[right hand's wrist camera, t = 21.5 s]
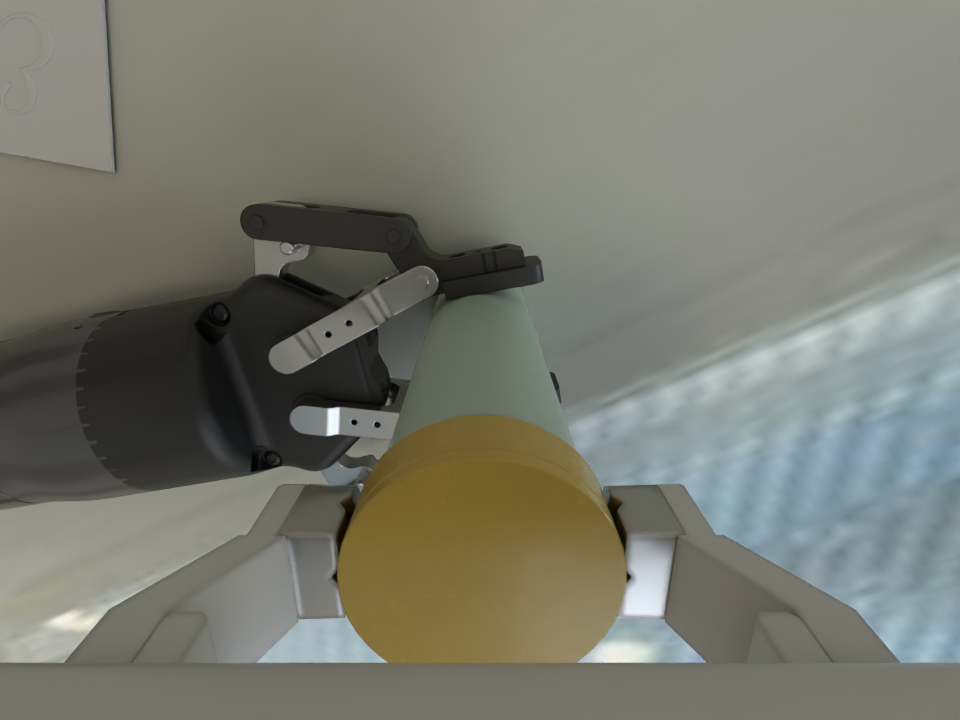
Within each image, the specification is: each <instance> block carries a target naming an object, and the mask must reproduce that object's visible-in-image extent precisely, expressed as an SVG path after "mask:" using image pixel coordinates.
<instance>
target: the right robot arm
mask: <svg viewBox="0 0 960 720" xmlns="http://www.w3.org/2000/svg"><path fill="white" fill-rule="evenodd" d="M603 494H604V497H605V500H606V502H607V505H608V508H609V510H610V513H611V516H612V518H613V521H614V524H615V526H616V529H617V532H618V534H619V537H620V540H621V542H622V545H623V548H624V553H625V558H626V565H627V581H626V588H625V595H624V598H623V601H622V605H621V608H620V610H619V613H618V615H617V616H618V618H642V619H665V622H666V623H667V624H668V625H669V626H670V627H671V628H672V629H673V630H674V631H675V632H676V633H677V634H678V635H679V636H680V637H681V638H682V639H684V640H685V641H686V642H687V643H688V644H689V645H690V646H691V647H692V648H693V649H694V650H695V651H696V652H697V653H698V654H699V655H700V656H701V657H702V658H703V659H704V660H705V661H706V662H707V663H256V662H257V661H258V660H259V659H260V658H261V657H262V656H263V655H264V654H265V653H267V652H268V651H269V650H270V649H271V648H272V647H273V646H274V645H275V644H276V643H277V642H278V641H279V640H280V639H281V638H282V637H283V636H284V635H285V634H286V633H287V632H288V631H289V630H290V629H291V628H292V627H293V626H294V625H295V624H296V623H297V622H298V619H321V618H345V616H346V612H345V610H344V608H343V605H342V602H341V598H340V594H339V590H338V581H337V565H338V557H339V552H340V548H341V544H342V541H343V539H344V536H345V533H346V531H347V528H348V525H349V523H350V520H351V517H352V514H353V512H354V509H355V506H356V504H357V501H358V498H359V496H360V489H359V487H358V485H320V484H308V485H306V484H283V485H280V486H279V487H278V488H277V489H276V491H275V492H274V494H273V495H272V497H271V498H270V500H269V502H268V503H267V505H266V506H265V508H264V509H263V511H262V512H261V514H260V516H259V517H258V519H257V520H256V522H255V523H254V525H253V526H252V528H251V530H250V531H249V533H248V534H247V535H239V536H237V537H235V538H234V539H232V540H230V541H228V542H226V543H225V544H223V545H221V546H219V547H218V548H216V549H214V550H212V551H211V552H209V553H207V554H205V555H204V556H202V557H200V558H198V559H197V560H195V561H193V562H191V563H190V564H188V565H186V566H184V567H183V568H181V569H179V570H177V571H176V572H174V573H172V574H170V575H169V576H167V577H165V578H163V579H162V580H160V581H158V582H156V583H154V584H153V585H151V586H149V587H147V588H146V589H144V590H142V591H140V592H139V593H137V594H135V595H133V596H132V597H130V598H128V599H126V600H125V601H123V602H121V603H119V604H118V605H116V606H114V607H112V608H111V609H109V610H108V611H107V613H106V614H105V615H104V616H103V617H102V618H101V620H100V621H99V622H98V623H97V624H96V626H95V627H94V628H93V629H92V630H91V631H90V633H89V634H88V635H87V636H86V637H85V639H84V640H83V641H82V642H81V643H80V644H79V646H78V647H77V648H76V649H75V650H74V652H73V653H72V654H71V655H70V656H69V657H68V659H67V660H66V661H65V662H64V663H0V720H960V663H900V662H899V661H898V659H897V658H896V657H895V656H894V655H893V653H892V652H891V651H890V650H889V649H888V648H887V646H886V645H885V644H884V643H883V642H882V640H881V639H880V638H879V637H878V636H877V635H876V633H875V632H874V631H873V630H872V629H871V628H870V626H869V625H868V624H867V623H866V622H865V620H864V619H863V618H862V617H861V616H860V615H859V613H858V612H857V611H856V610H855V609H853V608H851V607H849V606H848V605H846V604H844V603H842V602H841V601H839V600H837V599H835V598H834V597H832V596H830V595H828V594H827V593H825V592H823V591H821V590H819V589H818V588H816V587H814V586H812V585H811V584H809V583H807V582H805V581H804V580H802V579H800V578H798V577H797V576H795V575H793V574H791V573H790V572H788V571H786V570H784V569H783V568H781V567H779V566H777V565H775V564H774V563H772V562H770V561H768V560H767V559H765V558H763V557H761V556H760V555H758V554H756V553H754V552H753V551H751V550H749V549H747V548H746V547H744V546H742V545H740V544H739V543H737V542H735V541H733V540H731V539H730V538H728V537H726V536H724V535H716V534H715V533H714V531H713V530H712V528H711V526H710V525H709V523H708V522H707V520H706V519H705V517H704V516H703V514H702V513H701V511H700V510H699V508H698V507H697V505H696V504H695V502H694V501H693V499H692V498H691V496H690V495H689V493H688V492H687V490H686V488H685V487H684V486H683V485H681V484H659V485H630V486H604V488H603Z"/></svg>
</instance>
